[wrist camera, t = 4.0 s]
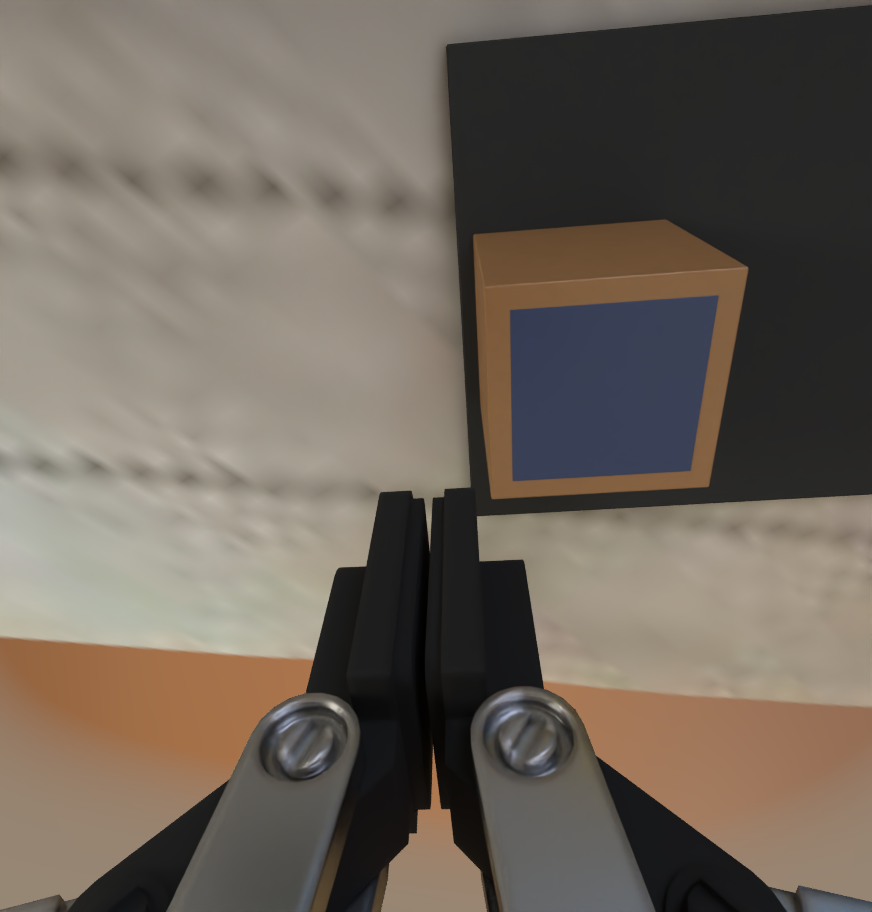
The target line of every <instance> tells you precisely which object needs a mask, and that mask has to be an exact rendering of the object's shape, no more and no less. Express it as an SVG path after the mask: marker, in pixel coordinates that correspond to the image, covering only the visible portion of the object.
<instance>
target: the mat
mask: <svg viewBox="0 0 872 912" xmlns="http://www.w3.org/2000/svg"><path fill="white" fill-rule="evenodd" d="M446 53H447V71H448V88H449V106H450V124H451V141H452V159H453V177H454V194H455V212H456V230H457V248H458V265H459V283H460V301H461V318H462V336H463V354H464V371H465V389H466V407H467V424H468V442H469V460H470V477H471V488H474V487H475V495H476V513H477V516H489V515H507V514H525V513H543V512H562V511H580V510H598V509H616V508H634V507H652V506H670V505H688V504H706V503H724V502H743V501H761V500H779V499H797V498H815V497H833V496H851V495H869V494H872V5H868V6H858V7H847V8H836V9H825V10H814V11H804V12H793V13H782V14H771V15H760V16H750V17H739V18H728V19H717V20H706V21H696V22H685V23H674V24H663V25H652V26H641V27H631V28H620V29H609V30H598V31H587V32H577V33H566V34H555V35H544V36H533V37H523V38H512V39H501V40H490V41H479V42H469V43H458V44H448V45H447V46H446ZM664 219H666V220H668V221H669V222H671V223H673V224H675V225H676V226H678V227H680V228H681V229H683V230H685V231H687V232H688V233H690V234H692V235H694V236H695V237H697V238H699V239H700V240H702V241H704V242H706V243H707V244H709V245H711V246H712V247H714V248H716V249H718V250H719V251H721V252H723V253H725V254H726V255H728V256H730V257H731V258H733V259H735V260H737V261H738V262H740V263H742V264H743V265H745V266H747V267H748V275H747V280H746V286H745V291H744V297H743V302H742V308H741V313H740V319H739V324H738V329H737V335H736V340H735V346H734V351H733V357H732V362H731V368H730V373H729V379H728V384H727V390H726V395H725V401H724V406H723V412H722V417H721V423H720V428H719V434H718V439H717V445H716V450H715V456H714V461H713V467H712V472H711V478H710V483H709V487H701V488H684V489H666V490H648V491H631V492H613V493H595V494H577V495H560V496H542V497H524V498H507V499H492V498H491V492H490V483H489V475H488V466H487V457H486V449H485V440H484V432H483V423H482V415H481V406H480V386H479V363H478V340H477V317H476V294H475V271H474V248H473V235H474V234H484V233H496V232H509V231H522V230H535V229H548V228H561V227H574V226H587V225H600V224H613V223H626V222H639V221H651V220H664Z"/></svg>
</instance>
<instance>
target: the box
mask: <svg viewBox="0 0 872 912" xmlns="http://www.w3.org/2000/svg"><path fill="white" fill-rule="evenodd" d="M473 248H474V271H475V294H476V317H477V340H478V363H479V386H480V406H481V415H482V423H483V432H484V440H485V449H486V457H487V466H488V475H489V483H490V492H491V498H492V499H507V498H524V497H542V496H560V495H577V494H595V493H613V492H631V491H648V490H666V489H684V488H701V487H709V483H710V478H711V472H712V467H713V461H714V456H715V450H716V445H717V439H718V434H719V428H720V423H721V417H722V412H723V406H724V401H725V395H726V390H727V384H728V379H729V373H730V368H731V362H732V357H733V351H734V346H735V340H736V335H737V329H738V324H739V319H740V313H741V308H742V302H743V297H744V291H745V286H746V280H747V275H748V267H747V266H745V265H743V264H742V263H740V262H738V261H737V260H735V259H733V258H731V257H730V256H728V255H726V254H725V253H723V252H721V251H719V250H718V249H716V248H714V247H712V246H711V245H709V244H707V243H706V242H704V241H702V240H700V239H699V238H697V237H695V236H694V235H692V234H690V233H688V232H687V231H685V230H683V229H681V228H680V227H678V226H676V225H675V224H673V223H671V222H669V221H668V220H666V219H664V220H651V221H639V222H626V223H613V224H600V225H587V226H574V227H561V228H548V229H535V230H522V231H509V232H496V233H484V234H474V235H473Z"/></svg>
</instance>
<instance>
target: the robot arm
mask: <svg viewBox="0 0 872 912" xmlns="http://www.w3.org/2000/svg"><path fill="white" fill-rule="evenodd" d="M433 747H434V755H435V763H436V771H437V779H438V787H439V795H440V803H441V809H450V812H451V821H452V829H453V838H454V843H455V844H456V845H457V846H458V847H459V848H460V849H461V850H462V851H463V853H465V855H466V856H467V857H468V858H469V859H470V860H471V861H472V862H473V863H474V864H475V865H476V866H477V867H478V868H479V869H480V870H481V880H482V885H483V892H484V897H485V903H486V909H487V912H872V902H869V901H865V900H860V899H855V898H852V897H847V896H843V895H838V894H834V893H830V892H825V891H821V890H817V889H812V888H808V887H803V886H798V888H797V891H796V893H793V892H789V891H784V890H780V889H776V888H771V887H768V886H767V885H766V884H765V883H764V882H763V881H762V880H761V879H759V878H758V877H757V876H756V875H755V874H754V873H753V872H752V871H751V870H749V869H748V868H746V867H745V866H744V865H742V864H741V863H740V862H738V861H737V860H736V859H734V858H733V857H732V856H730V855H729V854H728V853H726V852H725V851H723V850H722V849H721V848H720V847H718V846H717V845H716V844H714V843H713V842H711V841H710V840H709V839H707V838H706V837H705V836H703V835H702V834H701V833H699V832H698V831H696V830H695V829H694V828H692V827H691V826H690V825H688V824H687V823H686V822H685V821H683V820H681V818H679V817H678V816H676V815H675V814H674V813H672V812H671V811H670V810H668V809H667V808H666V807H664V806H663V805H662V804H660V803H659V802H658V801H656V800H655V799H654V798H652V797H651V796H649V795H648V794H647V793H645V792H644V791H643V790H641V789H640V788H639V787H637V786H636V785H635V784H633V783H632V782H631V781H629V780H628V779H627V778H625V777H624V776H623V775H621V774H620V773H618V772H617V771H616V770H614V769H613V768H612V767H610V766H609V765H608V764H606V763H605V762H603V761H602V760H601V759H600V758H598V757H597V756H596V755H595V752H594V750H593V747H592V744H591V742H590V739H589V736H588V734H587V732H586V729H585V726H584V724H583V722H582V720H581V719H580V717H579V715H578V713H577V712H576V710H575V709H574V708H573V707H572V706H571V705H570V704H569V703H567V701H565V700H564V699H563V698H562V697H560V696H558V695H556V694H554V693H552V692H550V691H548V690H545V689H544V687H543V680H542V673H541V667H540V660H539V654H538V647H537V641H536V634H535V628H534V622H533V615H532V609H531V602H530V596H529V589H528V583H527V576H526V570H525V564H524V561H523V560H504V561H481V562H479V547H478V530H477V513H476V495H475V487H474V488H455V489H445V491H444V497H438V498H433V504H432V524H431V544H430V550H429V541H428V531H427V521H426V512H425V503H424V498H418V499H413V495H412V491H395V492H381V493H380V495H379V500H378V506H377V511H376V517H375V522H374V528H373V533H372V538H371V544H370V549H369V555H368V560H367V566H366V567H344V568H338V570H337V571H336V574H335V577H334V581H333V585H332V589H331V593H330V597H329V601H328V605H327V609H326V613H325V617H324V621H323V625H322V629H321V633H320V638H319V642H318V646H317V650H316V654H315V658H314V662H313V666H312V670H311V674H310V678H309V682H308V686H307V690H306V693H305V694H302V695H299V696H295V697H292V698H289V699H287V700H286V701H284V702H282V703H280V704H279V705H277V706H275V707H274V708H273V709H272V710H270V712H268V713H267V714H266V715H265V716H264V717H263V718H262V719H261V720H260V722H259V723H258V725H257V726H256V728H255V729H254V731H253V732H252V734H251V736H250V738H249V740H248V742H247V744H246V746H245V748H244V751H243V753H242V755H241V757H240V759H239V761H238V763H237V765H236V767H235V770H234V771H233V774H232V775H231V778H230V779H229V780H228V781H227V782H225V783H224V784H223V785H221V786H220V787H219V788H217V789H216V790H215V791H213V792H212V793H211V794H210V795H208V796H207V797H206V798H204V799H203V800H202V801H201V802H199V803H198V804H197V805H195V806H194V807H192V808H191V809H190V810H189V811H187V812H186V813H185V814H183V815H182V816H181V817H179V818H178V819H177V820H175V821H174V822H173V823H171V824H170V825H169V826H168V827H166V828H165V829H164V830H162V831H161V832H160V833H158V834H157V835H156V836H154V837H153V838H152V839H150V840H149V841H148V842H146V843H145V844H144V845H143V846H141V847H140V848H139V849H138V850H136V851H135V852H133V853H132V854H131V855H129V856H128V857H127V858H125V859H124V860H123V861H121V862H120V863H119V864H118V865H116V866H115V867H114V868H112V869H111V870H110V871H108V872H107V873H106V874H104V875H103V876H102V877H101V878H99V879H98V880H97V881H96V882H94V883H93V884H92V885H91V886H90V887H89V888H88V889H87V890H86V891H85V892H84V893H82V894H81V895H80V896H79V897H78V898H76V899H72V900H68V901H64V900H63V899H62V897H61V896H60V895H56V896H52V897H48V898H44V899H40V900H37V901H33V902H29V903H25V904H22V905H18V906H14V907H10V908H6V909H3V910H0V912H381V908H382V903H383V899H384V895H385V890H386V885H387V881H388V871H389V863H390V861H391V860H392V859H393V858H394V857H395V856H396V855H397V854H398V853H399V852H400V851H401V850H402V849H403V848H404V847H405V846H406V845H407V844H408V841H409V833H417V815H418V810H420V809H421V810H423V809H424V810H425V809H430V807H431V789H432V788H431V787H432V755H433V754H432V753H433Z"/></svg>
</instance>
